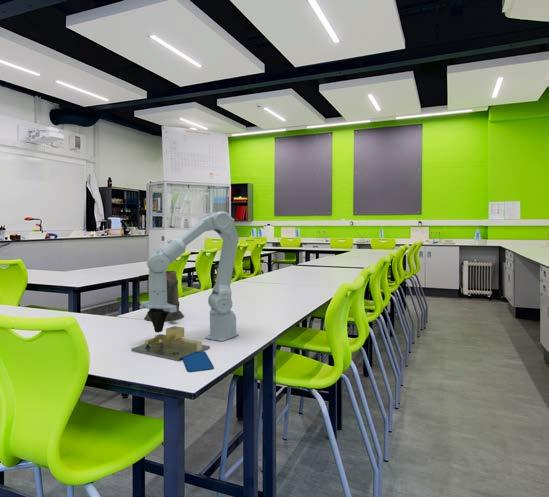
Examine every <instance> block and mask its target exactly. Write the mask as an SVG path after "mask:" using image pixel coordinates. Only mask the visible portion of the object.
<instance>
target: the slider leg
mask: <svg viewBox="0 0 549 497" xmlns="http://www.w3.org/2000/svg"><path fill="white" fill-rule="evenodd" d="M165 335H166V337H163V338H160V339H159V342H160V350H163V342H165V341H168V340H171V339H174V340H176V339H179V338H185V327H183V326H177V325H174V326H170V327H168V328H165Z"/></svg>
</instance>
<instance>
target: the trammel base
mask: <svg viewBox="0 0 549 497" xmlns="http://www.w3.org/2000/svg"><path fill="white" fill-rule="evenodd" d="M163 337H166V334H161V333H160V334H159V333H158V334H156V335H154V337H153V338H150V339H147V340H145V341H144V342H145V343H144V344H141V345H138V346H135V347H132V348H131V349H130V350H131V352H133V353H134V352H135V353H140V354H144V355H148V356H154V357H158V358H162V359H168V360H170V361H171V360H172V361H176V362H180V361H183V360H182V359H183V358H184V357H186V356H189V355H191V354H193V353H195V352H202V351H204V352H206V351H208V350H210V349H211V345H205V344H203V342H202V341H200V340H194V339H189V338H185V337H182V338H179V339H176V340H174V339H171V340H168V341H165V342H163V350H160V342H159V339H160V338H163Z"/></svg>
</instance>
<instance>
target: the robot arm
mask: <svg viewBox="0 0 549 497" xmlns="http://www.w3.org/2000/svg"><path fill="white" fill-rule="evenodd" d="M210 231H211V232H212V231H214V232H215V233H217V235H218V236H219V237H220V238H221V239H222V245H221V250H220V256H219V262H218V268H217V271H216V272H217V273H216V279H215V284H214V285H213V287H212V290H211V293H210V295H209V296H208V299H207V302H208V305H209V307H210V310H209V335H207V336H205V337H204V339H207V340H213V341H218V342H224V341H226V340H230V339H232V338H235V337H237V336H239V333H237V316H236V314H235V312H234V311H232V307H233V301H232V288H231V283H232V282H231V281H232V276H233V271H234V264H235V258H236V254H237V247H238V242H239V234H238V231H237V229H236V225H235V219H234V218H233V217H232V216H231V215H230V213H228V212H227V211H223V210H222V211H217V212H216V211H214V212H210V214H209V215H208V216H205V217H203V218H202V219H201V220H199V221H198V222H197V223H196V224H194V226H193V227H191V228H190V229H189V230H187V232H186V233H184V234H183V235H182V236H181V237H180V238H173V239H168V240H167V243H166V244H165V245H164V246H162V248H160V249H156V251H155V252H156V253H155V254H154V253H153V254H151V255H150V256H149V257H148V259H147V262H146V266H147V268H148V301H141V302H140V309H147V310H148V311H147V313H146V315H147V314H148V315H149V317H150V319H151V321H152V322H151V323H152V326H153V330H154V332H155V333H158V334H159V333H162V332H163V329H164V325H165V323H166V322H165V320H166V317H167V315H168V313H169V312H172V313H173V312H177V306H175V305H171V304H168V303H167V277H166V271H167V269H168V267H169V264H172V263H173V262H175V261H176V260H177V259H178V258H179V257H180V256H181V255H183V254H184V253H185V252H186V248H187V246H188V245H189V244H191V243H192V242H193V241H195V240H196V239H197V238H199V237H200V236H201V235H202V234H203V233H205V232H210ZM149 309H151V310H150V311H149Z"/></svg>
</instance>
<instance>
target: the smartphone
mask: <svg viewBox="0 0 549 497" xmlns="http://www.w3.org/2000/svg"><path fill="white" fill-rule="evenodd" d="M181 361H182V362H183V365H184V368H185V370H186V371H187V373H195V372H197V373H198V372H204V371H205V372H206V371H211V370H214V369H215V367H214V365H213V362H212V361H211V359H210V357H209V356H208V354H207V352H206V351H202V352H195V353H193V354H191V355H189V356H186V357H184V358H183V359H182V360H181Z"/></svg>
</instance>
